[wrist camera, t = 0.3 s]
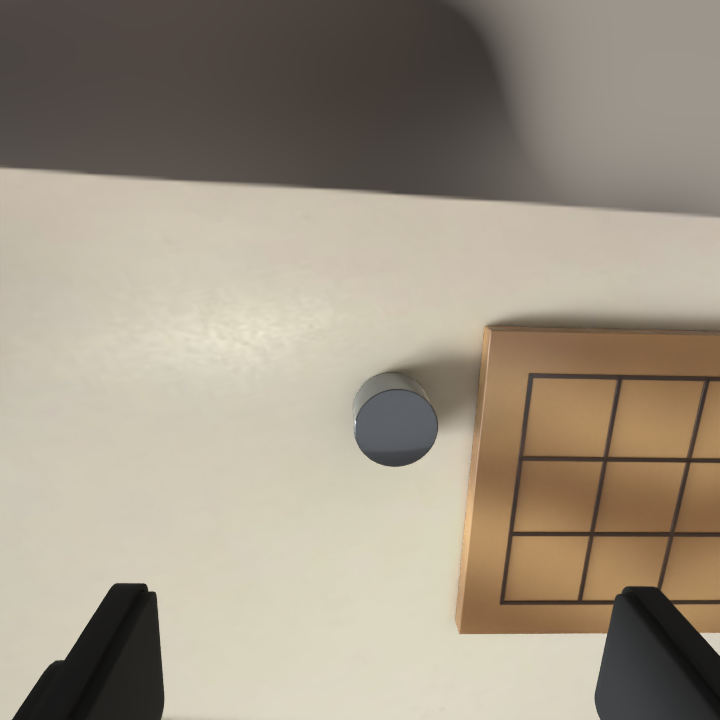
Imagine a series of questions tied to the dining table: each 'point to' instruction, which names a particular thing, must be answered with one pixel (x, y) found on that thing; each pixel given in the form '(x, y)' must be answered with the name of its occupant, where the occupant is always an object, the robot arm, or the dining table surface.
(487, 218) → the dining table surface
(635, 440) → the game board
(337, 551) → the dining table surface
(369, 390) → the grey metallic short cylinder
